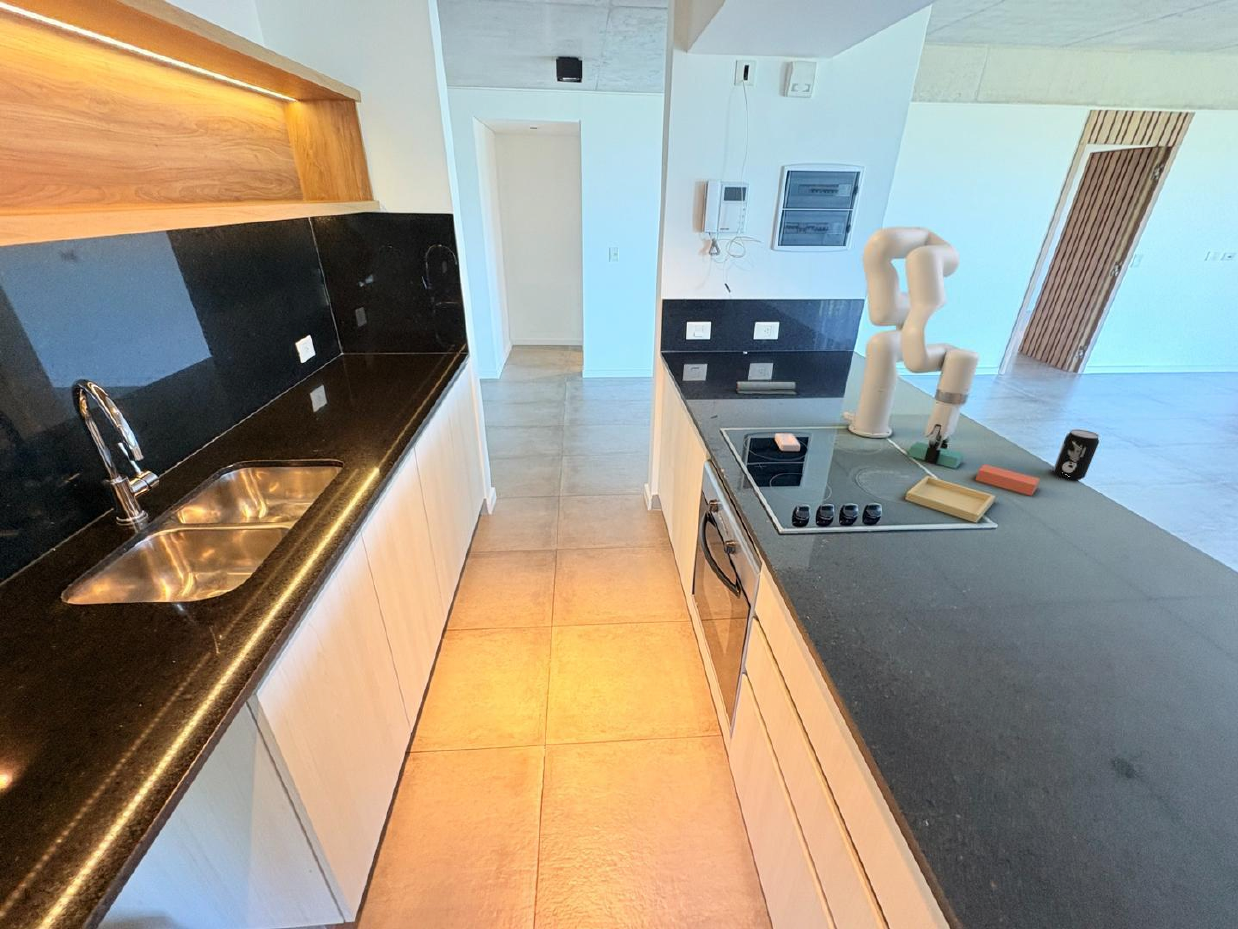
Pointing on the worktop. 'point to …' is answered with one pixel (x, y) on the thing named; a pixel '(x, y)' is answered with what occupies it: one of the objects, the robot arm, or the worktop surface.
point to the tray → (950, 498)
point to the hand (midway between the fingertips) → (934, 458)
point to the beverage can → (1076, 454)
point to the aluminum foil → (765, 387)
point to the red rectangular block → (1007, 479)
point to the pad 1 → (945, 456)
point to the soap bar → (787, 442)
